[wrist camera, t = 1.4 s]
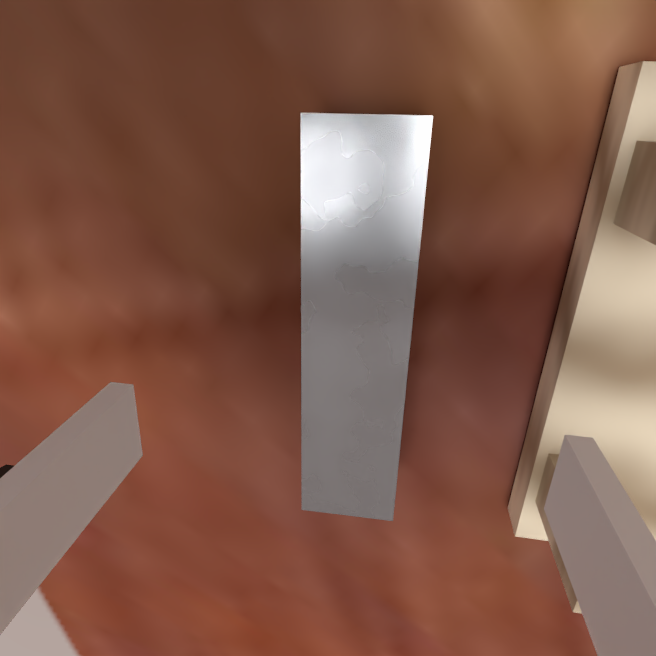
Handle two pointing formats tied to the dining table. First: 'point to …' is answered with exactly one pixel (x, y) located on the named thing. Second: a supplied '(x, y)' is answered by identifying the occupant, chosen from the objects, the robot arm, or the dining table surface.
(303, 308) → the bar
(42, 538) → the robot arm
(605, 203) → the rack
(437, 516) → the dining table surface
